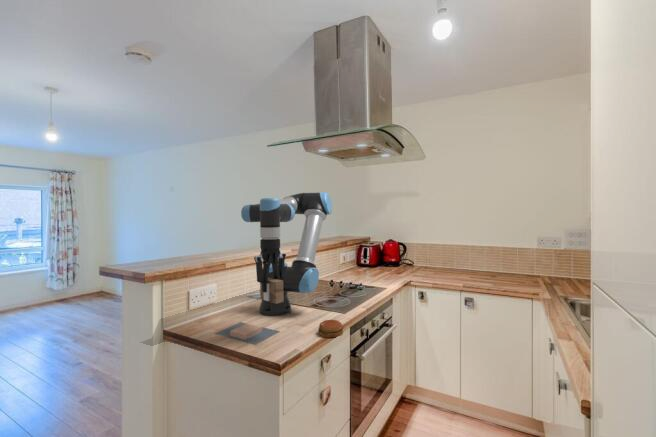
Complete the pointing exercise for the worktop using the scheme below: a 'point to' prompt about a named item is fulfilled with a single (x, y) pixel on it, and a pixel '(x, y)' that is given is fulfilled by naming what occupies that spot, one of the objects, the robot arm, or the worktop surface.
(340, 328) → the burger
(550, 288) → the worktop surface
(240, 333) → the teal and beige block
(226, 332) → the mat
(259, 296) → the brown wooden block
